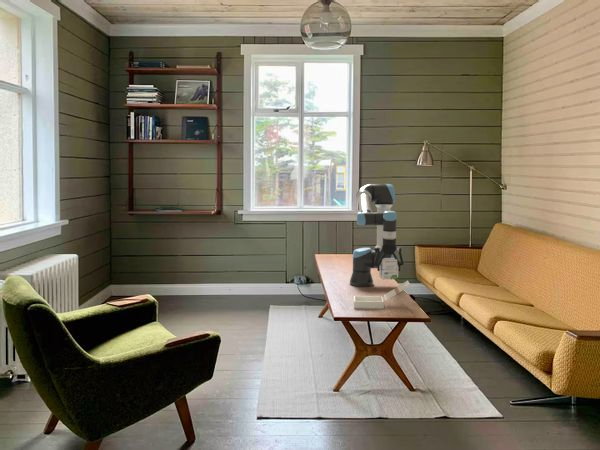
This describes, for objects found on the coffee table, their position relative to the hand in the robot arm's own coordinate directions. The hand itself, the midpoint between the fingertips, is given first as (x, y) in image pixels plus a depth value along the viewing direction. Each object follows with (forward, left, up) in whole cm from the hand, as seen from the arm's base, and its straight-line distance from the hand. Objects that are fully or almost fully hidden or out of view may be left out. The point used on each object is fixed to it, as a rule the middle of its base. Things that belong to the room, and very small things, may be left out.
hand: (388, 276), depth 359 cm
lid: (+14, +3, -5) cm, 15 cm away
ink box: (0, 0, -1) cm, 1 cm away
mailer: (+14, -12, -14) cm, 23 cm away
